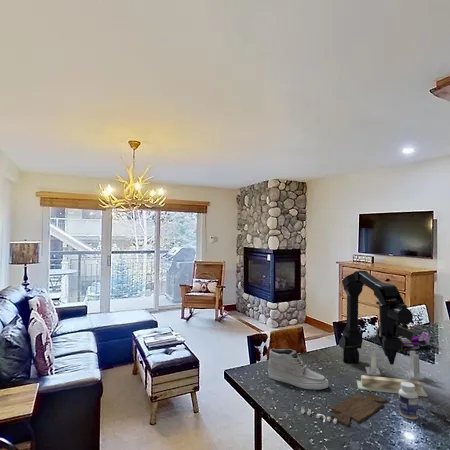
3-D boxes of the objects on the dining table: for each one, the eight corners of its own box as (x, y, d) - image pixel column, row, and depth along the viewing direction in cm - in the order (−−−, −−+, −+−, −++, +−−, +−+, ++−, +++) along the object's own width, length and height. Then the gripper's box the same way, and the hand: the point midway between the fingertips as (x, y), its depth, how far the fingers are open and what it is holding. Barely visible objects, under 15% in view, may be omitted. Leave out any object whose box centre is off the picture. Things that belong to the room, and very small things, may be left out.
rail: (362, 386, 125) (361, 378, 125) (361, 382, 128) (361, 375, 128) (421, 392, 119) (420, 384, 119) (419, 389, 122) (418, 380, 122)
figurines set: (337, 422, 101) (337, 412, 102) (335, 426, 99) (334, 416, 99) (301, 411, 108) (300, 402, 109) (297, 414, 106) (297, 405, 106)
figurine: (446, 341, 162) (394, 345, 158) (446, 355, 163) (394, 360, 158) (411, 325, 186) (365, 328, 181) (411, 337, 186) (365, 341, 181)
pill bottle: (395, 411, 107) (394, 381, 108) (411, 410, 107) (410, 380, 108) (406, 420, 102) (405, 388, 102) (422, 419, 102) (421, 387, 103)
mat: (358, 389, 123) (358, 388, 123) (356, 381, 130) (356, 380, 130) (427, 397, 117) (427, 395, 117) (421, 388, 123) (421, 387, 123)
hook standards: (367, 375, 136) (366, 352, 137) (365, 369, 143) (364, 346, 143) (424, 380, 130) (423, 356, 131) (419, 374, 137) (418, 351, 137)
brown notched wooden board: (322, 417, 105) (351, 431, 97) (322, 412, 105) (351, 426, 97) (363, 393, 121) (391, 403, 113) (363, 388, 121) (391, 398, 113)
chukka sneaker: (325, 393, 120) (324, 360, 121) (263, 379, 133) (262, 349, 134) (331, 384, 128) (330, 353, 129) (272, 372, 141) (271, 343, 142)
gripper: (418, 325, 113) (420, 371, 113) (405, 314, 131) (407, 354, 130) (383, 323, 117) (384, 368, 116) (375, 312, 134) (376, 351, 134)
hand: (389, 360), depth 124 cm, fingers open, 9 cm apart
